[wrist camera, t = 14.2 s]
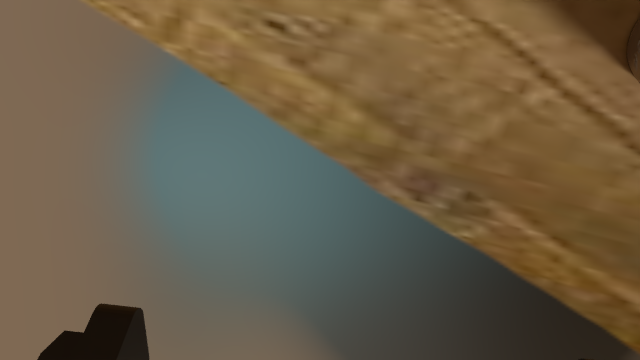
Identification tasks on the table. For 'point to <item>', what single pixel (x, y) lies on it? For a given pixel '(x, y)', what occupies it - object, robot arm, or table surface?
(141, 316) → the robot arm
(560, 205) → the table surface
